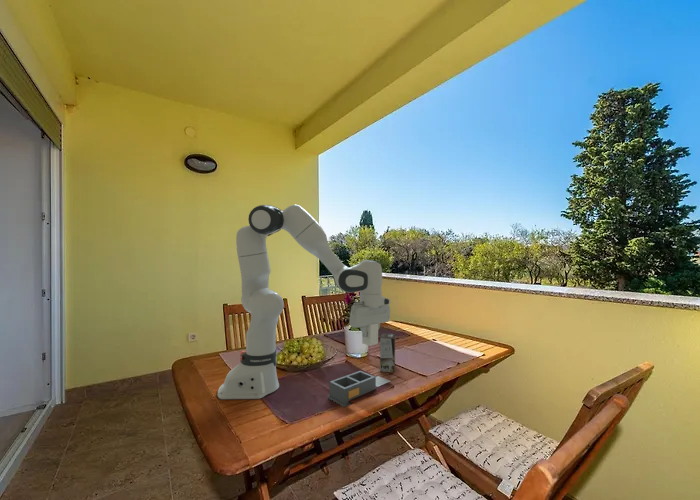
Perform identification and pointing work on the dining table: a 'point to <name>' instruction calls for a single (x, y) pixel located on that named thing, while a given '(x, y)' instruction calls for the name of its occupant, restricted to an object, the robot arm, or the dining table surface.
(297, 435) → the dining table surface
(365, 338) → the peg
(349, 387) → the slot rack
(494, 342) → the dining table surface
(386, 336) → the coffee box
